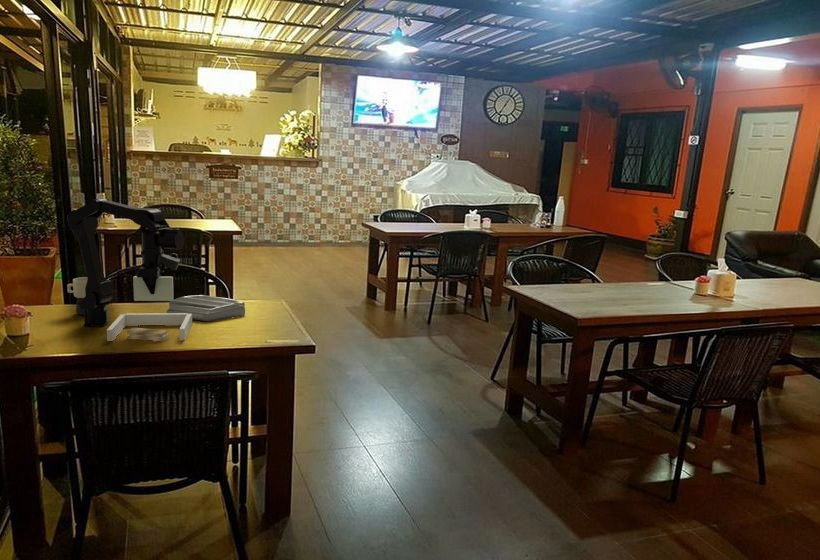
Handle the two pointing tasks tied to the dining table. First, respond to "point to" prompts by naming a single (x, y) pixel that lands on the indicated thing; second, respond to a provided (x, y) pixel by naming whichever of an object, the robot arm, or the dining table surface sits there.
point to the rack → (151, 322)
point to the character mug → (78, 291)
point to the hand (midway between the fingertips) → (153, 293)
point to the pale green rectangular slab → (161, 290)
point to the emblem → (207, 307)
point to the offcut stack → (148, 334)
